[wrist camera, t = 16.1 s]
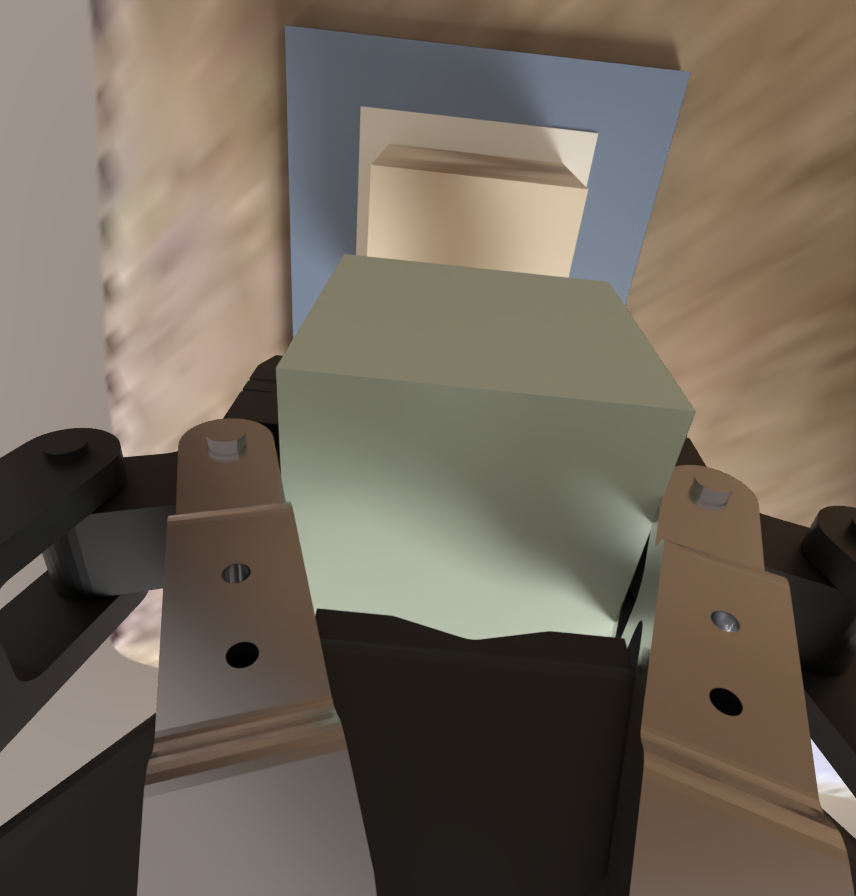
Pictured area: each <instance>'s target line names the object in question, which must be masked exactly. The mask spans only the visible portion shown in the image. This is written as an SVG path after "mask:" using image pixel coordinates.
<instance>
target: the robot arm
mask: <svg viewBox="0 0 856 896" xmlns="http://www.w3.org/2000/svg"><path fill="white" fill-rule="evenodd" d="M282 357H283V356H279V355H276V356H274V357H272V358H270V359H268V360H267V361H265V362H263V363H261V364H260V365H258V366H257V368H256V369H255V371H254V372H253V374H252V375H251V377H250V381H248V382H247V383H246V385H245V386H244V388H243V392H242V391H241V392H240V394H239V395H238V397H237V398H236V400H235V401H234V403H233V404H232V406H231V407H230V409H229V410H228V412H227V413H226V415H225V416H224V418H223V419H217V420H212V421H208V422H205V423H202V424H199V425H197V426H195V427H193V428H191V429H190V430H188V431H187V432H186V433H185V434H184V435H183V436H182V437H181V439H180V441H179V445H178V451H177V452H172V453H166V454H157V455H145V456H133V457H123V455H122V450H121V445H120V442H119V440H118V439H117V438H116V437H115V436H114V435H112V434H111V433H109V432H106V431H103V430H98V429H92V428H73V429H65V430H59V431H55V432H50V433H47V434H44V435H41V436H39V437H36V438H34V439H32V440H30V441H28V442H26V443H25V444H23V445H21V446H20V447H18V448H16V449H15V450H13V451H11V452H10V453H8V454H6V455H5V456H3V457H1V458H0V588H1V587H2V586H3V585H4V584H5V583H6V582H7V581H8V580H9V579H10V578H11V577H13V576H14V575H15V574H16V573H18V572H19V571H20V570H21V569H23V568H24V567H25V566H26V565H27V564H29V563H30V562H31V561H33V560H34V559H35V558H36V557H38V556H39V555H40V554H41V553H42V554H43V557H44V560H45V563H46V566H47V569H48V570H47V571H46V572H45V573H43V575H41V576H40V577H39V578H38V579H36V580H35V581H34V582H33V583H32V584H30V585H29V586H28V587H27V588H26V589H25V590H23V591H22V592H21V593H20V594H18V595H17V596H16V597H15V598H14V599H13V600H11V601H10V602H9V603H8V604H7V605H5V606H4V607H3V608H2V609H1V610H0V752H1V751H2V750H3V749H4V747H6V745H7V744H8V743H9V742H10V741H11V740H12V739H13V738H14V737H15V736H16V735H17V734H18V733H19V732H20V730H21V729H22V728H23V727H24V726H25V725H26V724H27V723H28V722H29V721H30V720H31V719H32V718H33V717H34V716H35V715H36V713H37V712H38V711H39V710H40V709H41V708H42V707H43V706H44V705H45V704H46V703H47V702H48V701H49V700H50V699H51V697H52V696H53V695H54V694H55V693H56V692H57V691H58V690H59V689H60V688H61V687H62V686H63V685H64V684H65V682H66V681H67V680H68V679H69V678H70V677H71V676H72V675H73V674H74V673H75V672H76V671H77V670H78V669H79V668H80V667H81V665H82V664H83V663H84V662H85V661H86V660H87V659H88V658H89V657H90V656H91V655H92V654H93V653H94V652H95V651H96V650H97V649H98V647H99V646H100V645H101V644H102V643H103V642H104V641H105V640H106V639H107V638H108V637H109V636H110V635H111V634H112V633H113V631H114V630H115V629H116V628H117V627H118V626H119V625H120V624H121V623H122V622H123V621H124V620H125V619H126V618H127V617H128V615H129V614H130V613H131V612H132V611H133V610H134V609H135V608H136V607H137V606H138V605H139V604H140V603H141V602H142V600H143V599H144V598H145V596H146V595H147V593H148V590H154V589H161V588H163V601H162V619H161V637H160V654H159V674H158V690H157V708H156V713H155V714H154V715H152V716H151V717H150V718H148V719H147V720H145V721H144V722H143V723H141V724H140V725H139V726H137V727H136V728H134V729H133V730H132V731H130V732H129V733H127V734H126V735H125V736H123V737H122V738H121V739H119V740H118V741H117V742H115V743H114V744H112V745H111V746H110V747H108V748H107V749H106V750H104V751H103V752H101V753H100V754H99V755H97V756H96V757H95V758H93V759H92V760H91V761H89V762H88V763H87V764H85V765H84V766H82V767H81V768H80V769H78V770H77V771H75V772H74V773H73V774H72V775H70V776H69V777H67V778H66V779H65V780H63V781H62V782H60V783H59V784H58V785H57V786H55V787H54V788H52V789H51V790H50V791H48V792H47V793H45V794H44V795H43V796H42V797H40V798H39V799H37V800H36V801H35V802H33V803H32V804H30V805H29V806H28V807H26V808H25V809H24V810H22V811H21V812H19V813H18V814H17V815H15V816H14V817H13V818H11V819H10V820H8V821H7V822H6V823H4V824H3V825H2V826H0V896H856V839H855V838H854V837H853V836H852V835H851V834H850V833H848V832H847V831H846V830H845V829H844V828H843V827H842V826H841V825H840V824H839V823H837V822H836V821H835V820H834V819H833V818H832V817H831V816H830V815H829V814H828V813H826V812H825V811H824V810H823V809H822V808H821V805H820V802H819V796H818V789H817V782H816V775H815V768H814V760H813V753H812V746H811V739H812V740H813V742H814V743H815V744H816V746H817V747H818V748H819V750H820V751H821V752H822V754H823V755H824V756H825V758H826V759H827V760H828V762H829V763H830V764H831V766H832V767H833V768H834V770H835V771H836V772H837V774H838V775H839V776H840V778H841V779H842V780H843V782H844V783H845V784H846V786H847V787H848V788H849V790H850V791H851V792H852V794H853V795H854V796H855V798H856V508H853V507H847V506H830V507H826V508H823V509H822V510H820V511H819V513H818V514H817V516H816V518H815V520H814V522H813V523H812V525H811V527H810V528H808V527H804V526H801V525H798V524H794V523H791V522H787V521H784V520H780V519H777V518H773V517H770V516H767V515H764V514H761V513H759V504H758V500H757V498H756V496H755V494H754V493H753V492H752V491H751V490H750V489H749V488H748V487H747V486H746V485H745V484H743V483H742V482H741V481H739V480H737V479H736V478H734V477H732V476H730V475H728V474H726V473H724V472H721V471H719V470H715V469H712V468H708V467H706V465H705V463H704V462H703V460H702V458H701V457H700V455H699V453H698V452H697V450H696V448H695V447H694V445H693V444H692V442H691V440H690V439H689V438H687V436H686V438H685V441H684V444H683V446H682V449H681V452H680V454H679V457H678V459H677V462H676V465H675V467H674V470H673V473H672V475H671V478H670V480H669V483H668V486H667V488H666V491H665V494H664V496H663V497H662V498H661V500H660V503H659V506H658V508H657V511H656V513H655V516H654V519H653V521H652V525H651V530H650V533H649V536H648V538H647V541H646V544H645V546H644V549H643V551H642V554H641V557H640V559H639V562H638V565H637V567H636V570H635V572H634V575H633V578H632V580H631V583H630V586H629V588H628V591H627V593H626V596H625V599H624V601H622V603H621V606H620V608H619V611H618V614H617V616H616V619H615V621H614V626H613V631H612V636H611V637H605V636H595V635H585V634H574V633H564V632H554V631H546V632H537V633H529V634H521V635H512V636H504V637H496V638H487V639H477V640H473V639H466V638H462V637H459V636H456V635H453V634H450V633H446V632H443V631H440V630H437V629H434V628H431V627H427V626H424V625H421V624H418V623H415V622H411V621H408V620H405V619H402V618H399V617H395V616H391V615H381V614H370V613H360V612H350V611H340V610H330V609H319V608H317V610H316V614H315V613H314V608H313V603H312V599H311V594H310V589H309V584H308V579H307V574H306V569H305V565H304V560H303V555H302V550H301V545H300V540H299V535H298V531H297V526H296V521H295V516H294V511H293V507H292V503H291V502H290V501H288V502H286V500H285V494H284V489H283V484H282V479H281V463H280V443H279V422H278V401H277V380H276V367H277V365H278V364H279V362H280V360H281V359H282ZM810 738H811V739H810Z"/></svg>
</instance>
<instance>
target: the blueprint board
mask: <svg viewBox="0 0 856 896" xmlns="http://www.w3.org/2000/svg"><path fill="white" fill-rule="evenodd" d="M285 49H286V87H287V126H288V164H289V203H290V241H291V280H292V318H293V338H294V337H295V335H296V333H297V332H298V330H299V328H300V327H301V325H302V323H303V322H304V320H305V318H306V317H307V315H308V313H309V312H310V310H311V308H312V307H313V305H314V303H315V302H316V300H317V298H318V297H319V295H320V293H321V292H322V290H323V288H324V287H325V285H326V283H327V282H328V280H329V278H330V277H331V275H332V273H333V272H334V270H335V268H336V267H337V265H338V263H339V262H340V260H341V258H342V257H343V255H344V254H350V255H360V256H367V244H368V221H369V197H370V173H371V164H372V163H373V162H374V161H375V160H376V158H377V157H378V156H379V155H380V154H381V153H382V152H383V151H384V149H385V148H386V147H387V146H388V145H389V144H397V145H405V146H414V147H423V148H432V149H440V150H449V151H458V152H467V153H476V154H484V155H493V156H502V157H511V158H520V159H528V160H537V161H546V162H555V163H563V164H564V165H565V166H566V167H567V168H568V169H569V170H570V171H571V172H572V173H573V174H574V175H575V176H576V177H577V178H578V179H579V180H580V181H581V182H582V183H583V184H584V185H585V186H586V188H587V189H588V193H587V197H586V202H585V206H584V211H583V215H582V220H581V224H580V229H579V233H578V238H577V242H576V246H575V251H574V255H573V260H572V264H571V269H570V273H569V278H577V279H587V280H596V281H606V282H609V283H610V284H611V286H612V287H613V289H614V290H615V292H616V293H617V295H618V296H619V298H620V299H621V301H622V302H623V304H624V305H625V304H626V300H627V297H628V293H629V290H630V286H631V283H632V279H633V276H634V272H635V268H636V265H637V261H638V258H639V254H640V251H641V247H642V244H643V240H644V237H645V233H646V229H647V226H648V222H649V219H650V215H651V212H652V208H653V205H654V201H655V198H656V194H657V190H658V187H659V183H660V180H661V176H662V173H663V169H664V166H665V162H666V159H667V155H668V151H669V148H670V144H671V141H672V137H673V134H674V130H675V127H676V123H677V120H678V116H679V113H680V109H681V105H682V102H683V98H684V95H685V91H686V88H687V84H688V81H689V77H690V74H691V72H687V71H678V70H669V69H661V68H652V67H643V66H635V65H626V64H617V63H609V62H600V61H591V60H583V59H574V58H565V57H556V56H548V55H539V54H530V53H522V52H513V51H504V50H496V49H487V48H478V47H470V46H461V45H452V44H444V43H435V42H426V41H417V40H409V39H400V38H391V37H383V36H374V35H365V34H357V33H348V32H339V31H331V30H322V29H313V28H305V27H296V26H287V25H285Z"/></svg>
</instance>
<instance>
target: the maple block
mask: <svg viewBox="0 0 856 896" xmlns="http://www.w3.org/2000/svg"><path fill="white" fill-rule="evenodd" d="M587 193H588V189H587V188H586V186H585V185H584V184H583V183H582V182H581V181H580V180H579V179H578V178H577V177H576V176H575V175H574V174H573V173H572V172H571V171H570V170H569V169H568V168H567V167H566V166H565V165H564V164H563V163H555V162H546V161H537V160H528V159H520V158H511V157H502V156H493V155H484V154H476V153H467V152H458V151H449V150H440V149H432V148H423V147H414V146H405V145H397V144H389V145H388V146H387V147H386V148H385V149H384V151H383V152H382V153H381V154H380V155H379V156H378V157H377V158H376V160H375V161H374V162H373V163H372V164H371V173H370V197H369V221H368V244H367V256H369V257H378V258H388V259H397V260H407V261H416V262H426V263H435V264H445V265H454V266H464V267H473V268H483V269H492V270H502V271H511V272H520V273H530V274H539V275H549V276H558V277H568V278H569V273H570V269H571V264H572V260H573V255H574V251H575V246H576V242H577V238H578V233H579V229H580V224H581V220H582V215H583V211H584V206H585V202H586V197H587Z"/></svg>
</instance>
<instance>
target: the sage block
mask: <svg viewBox="0 0 856 896" xmlns="http://www.w3.org/2000/svg"><path fill="white" fill-rule="evenodd" d="M276 380H277V401H278V422H279V443H280V463H281V479H282V484H283V489H284V494H285V500H286V502H288V501H290V502H291V503H292V507H293V511H294V516H295V521H296V526H297V531H298V535H299V540H300V545H301V550H302V555H303V560H304V565H305V569H306V574H307V579H308V584H309V589H310V594H311V599H312V603H313V608H314V613H315V614H316V610H317V608H319V609H330V610H340V611H350V612H360V613H370V614H381V615H391V616H395V617H399V618H402V619H405V620H408V621H411V622H415V623H418V624H421V625H424V626H427V627H431V628H434V629H437V630H440V631H443V632H446V633H450V634H453V635H456V636H459V637H462V638H466V639H473V640H477V639H487V638H496V637H504V636H512V635H521V634H529V633H537V632H546V631H554V632H564V633H574V634H585V635H595V636H605V637H610V636H611V633H612V630H613V626H614V621H615V619H616V616H617V614H618V611H619V608H620V606H621V603H622V601H624V599H625V596H626V593H627V591H628V588H629V586H630V583H631V580H632V578H633V575H634V572H635V570H636V567H637V565H638V562H639V559H640V557H641V554H642V551H643V549H644V546H645V544H646V541H647V538H648V536H649V533H650V530H651V525H652V521H653V519H654V516H655V513H656V511H657V508H658V506H659V503H660V500H661V498H662V497H663V496H664V494H665V491H666V488H667V486H668V483H669V480H670V478H671V475H672V473H673V470H674V467H675V465H676V462H677V459H678V457H679V454H680V452H681V449H682V446H683V444H684V441H685V438H686V436H687V433H688V431H689V428H690V425H691V423H692V420H693V417H694V415H695V412H696V411H695V409H694V408H693V406H692V405H691V403H690V402H689V400H688V399H687V397H686V396H685V394H684V393H683V391H682V390H681V388H680V387H679V385H678V384H677V382H676V381H675V379H674V378H673V377H672V375H671V374H670V372H669V371H668V369H667V368H666V366H665V365H664V363H663V362H662V360H661V359H660V357H659V356H658V354H657V353H656V351H655V350H654V348H653V347H652V345H651V344H650V342H649V341H648V339H647V338H646V336H645V335H644V333H643V332H642V330H641V329H640V328H639V326H638V325H637V323H636V322H635V320H634V319H633V317H632V316H631V314H630V313H629V311H628V310H627V308H626V307H625V305H624V304H623V302H622V301H621V299H620V298H619V296H618V295H617V293H616V292H615V290H614V289H613V287H612V286H611V284H610V283H609V282H606V281H596V280H587V279H577V278H568V277H558V276H549V275H539V274H530V273H520V272H511V271H502V270H492V269H483V268H473V267H464V266H454V265H445V264H435V263H426V262H416V261H407V260H397V259H388V258H378V257H369V256H360V255H350V254H344V255H343V257H342V258H341V260H340V262H339V263H338V265H337V267H336V268H335V270H334V272H333V273H332V275H331V277H330V278H329V280H328V282H327V283H326V285H325V287H324V288H323V290H322V292H321V293H320V295H319V297H318V298H317V300H316V302H315V303H314V305H313V307H312V308H311V310H310V312H309V313H308V315H307V317H306V318H305V320H304V322H303V323H302V325H301V327H300V328H299V330H298V332H297V333H296V335H295V337H294V338H293V340H292V342H291V343H290V345H289V347H288V349H287V350H286V352H285V354H284V355H283V357H282V359H281V360H280V362H279V364H278V365H277V367H276Z"/></svg>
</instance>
